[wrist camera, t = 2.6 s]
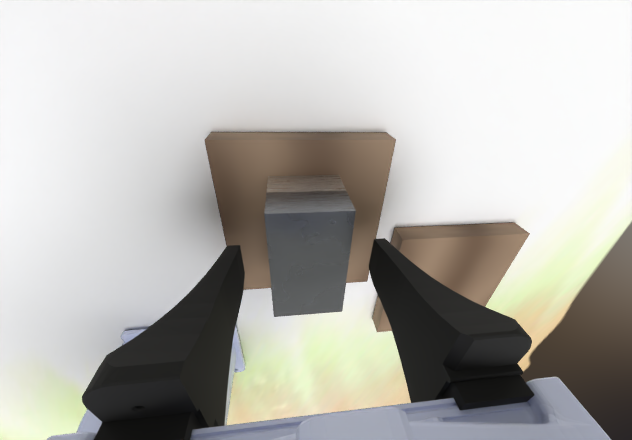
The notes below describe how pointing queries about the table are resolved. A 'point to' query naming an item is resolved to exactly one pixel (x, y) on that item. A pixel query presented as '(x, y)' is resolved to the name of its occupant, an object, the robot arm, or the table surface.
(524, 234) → the stand
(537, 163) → the table surface
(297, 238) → the block
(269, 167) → the stand
